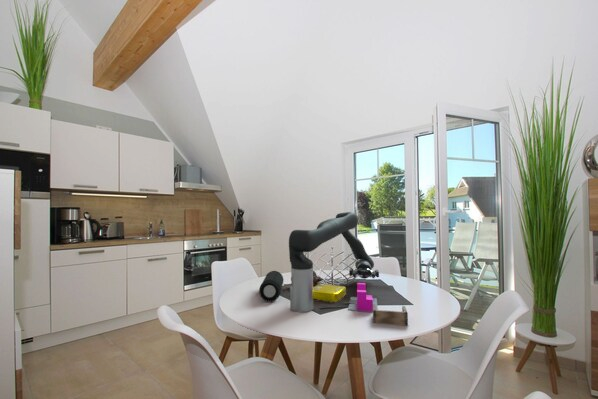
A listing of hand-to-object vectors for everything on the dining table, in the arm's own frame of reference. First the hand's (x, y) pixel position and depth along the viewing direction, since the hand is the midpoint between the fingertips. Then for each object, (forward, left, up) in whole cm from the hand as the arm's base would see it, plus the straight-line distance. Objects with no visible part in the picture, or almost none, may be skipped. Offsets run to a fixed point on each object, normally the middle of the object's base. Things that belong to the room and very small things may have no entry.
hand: (363, 275), depth 138 cm
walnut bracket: (+10, -27, -10) cm, 30 cm away
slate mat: (0, -10, -10) cm, 14 cm away
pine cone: (-30, +13, -11) cm, 35 cm away
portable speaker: (-45, -4, -11) cm, 46 cm away
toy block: (0, -12, -10) cm, 15 cm away
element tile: (-18, -1, -11) cm, 21 cm away
